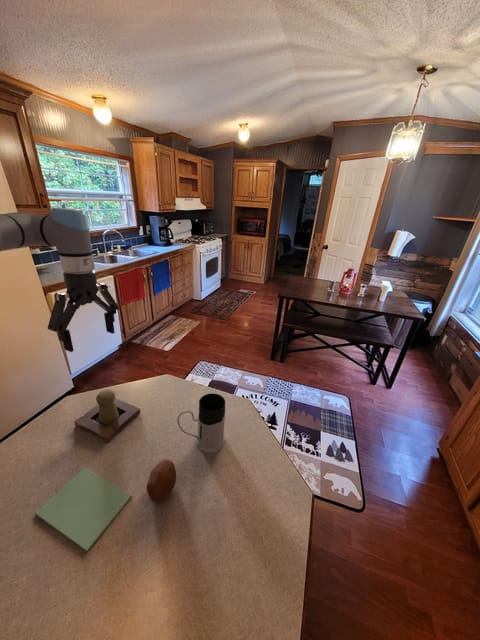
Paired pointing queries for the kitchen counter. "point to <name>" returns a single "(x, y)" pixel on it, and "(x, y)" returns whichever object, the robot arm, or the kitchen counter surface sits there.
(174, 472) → the potato
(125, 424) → the frame
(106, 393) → the cork
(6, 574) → the kitchen counter surface
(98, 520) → the mat
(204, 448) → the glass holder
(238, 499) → the kitchen counter surface
